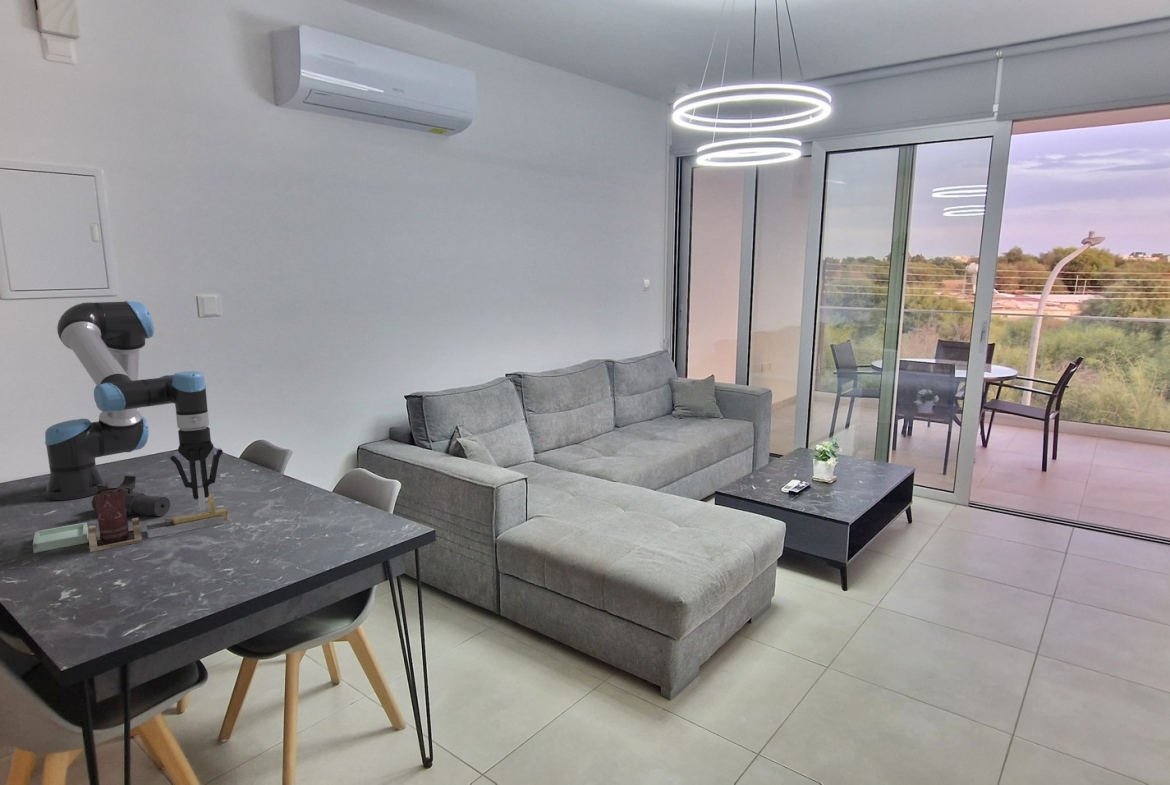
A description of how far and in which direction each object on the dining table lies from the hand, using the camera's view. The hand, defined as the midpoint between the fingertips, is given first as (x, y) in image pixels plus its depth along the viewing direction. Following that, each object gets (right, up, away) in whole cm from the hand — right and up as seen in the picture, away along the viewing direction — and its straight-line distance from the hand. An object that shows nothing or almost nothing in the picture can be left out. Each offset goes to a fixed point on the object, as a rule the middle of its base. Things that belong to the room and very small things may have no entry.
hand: (202, 508), depth 184 cm
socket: (-16, -6, -11) cm, 21 cm away
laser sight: (-27, -3, +9) cm, 28 cm away
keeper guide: (-4, -5, -2) cm, 6 cm away
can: (-16, -7, -11) cm, 21 cm away
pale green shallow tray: (-31, -6, -11) cm, 33 cm away
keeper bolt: (-1, -4, 0) cm, 5 cm away
